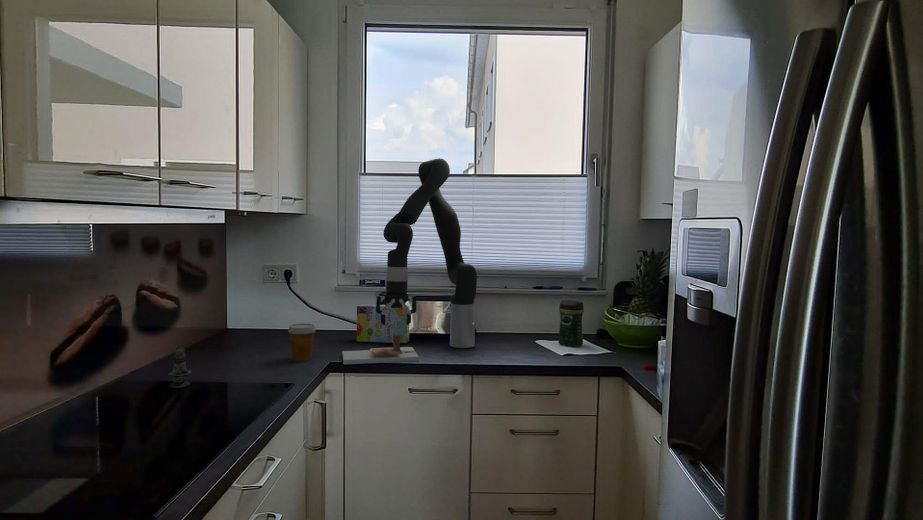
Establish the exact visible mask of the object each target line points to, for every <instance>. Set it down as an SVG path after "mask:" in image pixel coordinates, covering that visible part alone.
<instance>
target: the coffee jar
mask: <svg viewBox="0 0 923 520" xmlns="http://www.w3.org/2000/svg"><path fill="white" fill-rule="evenodd" d="M558 310H559V311H558V312H559V317H560V319H559V331H558V332H559V333H558V340H557V341H558V342H557V343H558V344H559V345H561V346H564V345H565V346H566V347H570V346H571V347H578V348H579V347H581V346H583V342H584V336H583V319H582V318H583V314H584V303H583V302H582V301H579V300H573V299H565V300H561V301H560V302H559V309H558Z"/></svg>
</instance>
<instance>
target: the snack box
mask: <svg viewBox="0 0 923 520" xmlns="http://www.w3.org/2000/svg"><path fill="white" fill-rule="evenodd" d="M385 305H386V304H380V310H382V309H383V308H384V306H385ZM407 307H408V308H409V309H410V305H407ZM406 320H407V312H406V310H405V309H404V308H403V307H402V308H391V307H390V308H389V309H388V310H387V311H386V313H385V325H383V324H382V323H381V314H379V313H377V312H376V304H368V303H367V304H363V303H362V304H359V305H357V306H356V342H364V343H387V344H389V343H392V344H393V334H397V333H399V335H400V344H407V343H408V342H409V341H410V324H409V325H407V324H406Z"/></svg>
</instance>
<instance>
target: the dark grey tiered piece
mask: <svg viewBox="0 0 923 520" xmlns="http://www.w3.org/2000/svg"><path fill="white" fill-rule="evenodd" d="M172 362H173V368H172V369H173V370H172V371H170V372H169V373H168V376H169V379H170V381H172V382H171V384H169V387H170V388H172V389H173V388H185V387H187V386H189V385H191V382H189V381H187V380H188V379H189V378H190V376H191V373H192V370H189V369H187V367H186V362H187V358H186V349H185V348H184V347H183V346H181V343H180V344H178V347H175V348H174V350H173V359H172Z"/></svg>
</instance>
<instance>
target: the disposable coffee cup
mask: <svg viewBox="0 0 923 520" xmlns="http://www.w3.org/2000/svg"><path fill="white" fill-rule="evenodd" d="M316 330H317V328H316V325H315V324H313V323H294V324H290V325H288V329H287V332H288V334H289V341H290V350H291V356H292V361H293V362H297V363H300V362H308V361H311V360H312V356H313V355H312V354H313V349H314V342H315V341H314V339H315V332H316Z"/></svg>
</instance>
